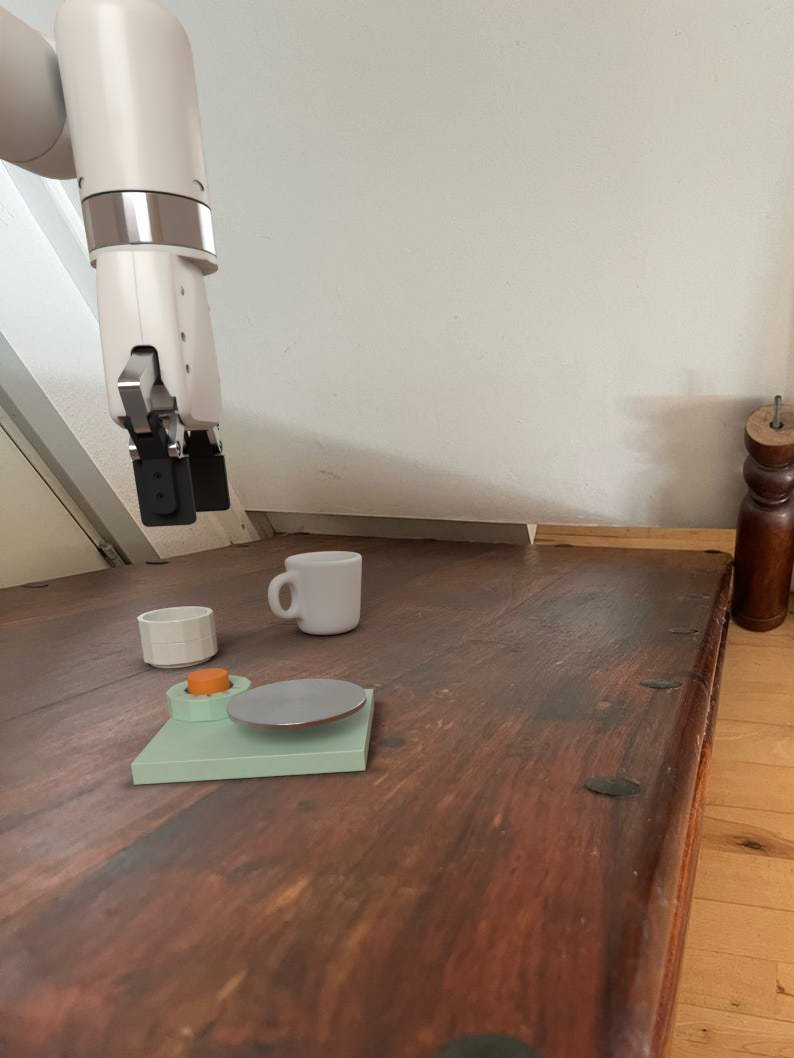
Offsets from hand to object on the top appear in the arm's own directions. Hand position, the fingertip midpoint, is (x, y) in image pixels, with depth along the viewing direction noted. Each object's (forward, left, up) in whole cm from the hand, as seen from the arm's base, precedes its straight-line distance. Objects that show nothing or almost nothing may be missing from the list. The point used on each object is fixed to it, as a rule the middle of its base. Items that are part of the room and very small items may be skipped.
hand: (191, 517), depth 53 cm
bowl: (-8, +18, -15) cm, 25 cm away
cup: (+4, +26, -15) cm, 31 cm away
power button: (0, 0, -12) cm, 12 cm away
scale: (+4, -4, -15) cm, 16 cm away
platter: (+7, -5, -12) cm, 15 cm away
